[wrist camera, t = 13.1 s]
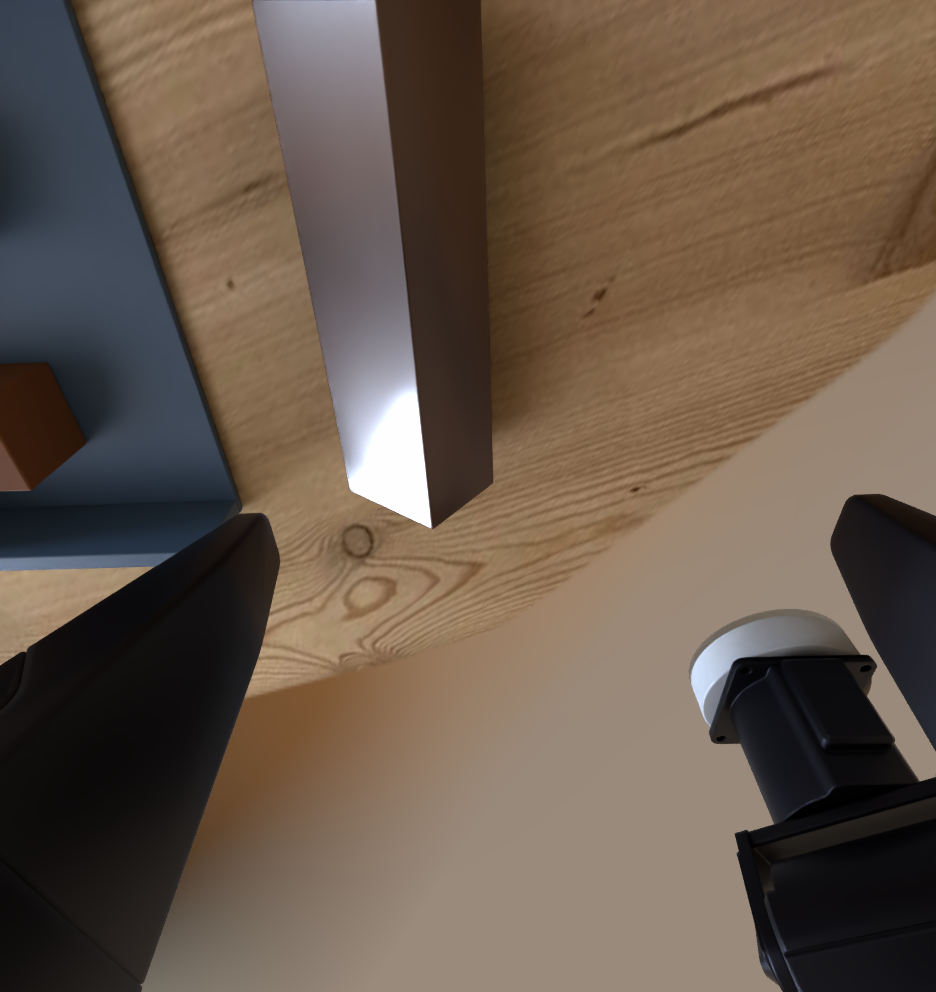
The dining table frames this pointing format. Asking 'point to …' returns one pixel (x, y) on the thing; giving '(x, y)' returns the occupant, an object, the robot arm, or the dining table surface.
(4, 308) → the dustpan
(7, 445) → the crumb
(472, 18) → the brown long block
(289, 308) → the dining table surface
